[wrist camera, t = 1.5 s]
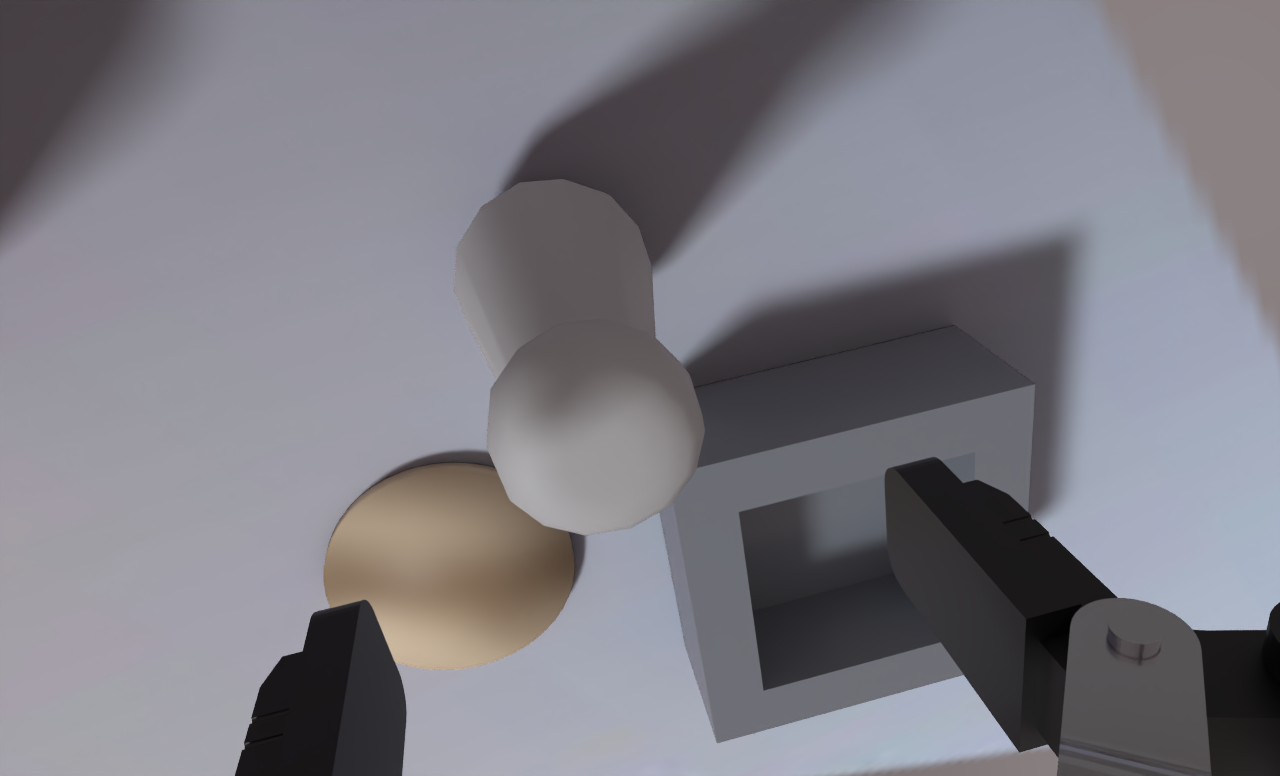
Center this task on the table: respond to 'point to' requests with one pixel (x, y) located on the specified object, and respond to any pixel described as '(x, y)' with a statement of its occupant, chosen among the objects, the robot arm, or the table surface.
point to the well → (828, 521)
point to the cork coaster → (449, 566)
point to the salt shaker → (575, 359)
